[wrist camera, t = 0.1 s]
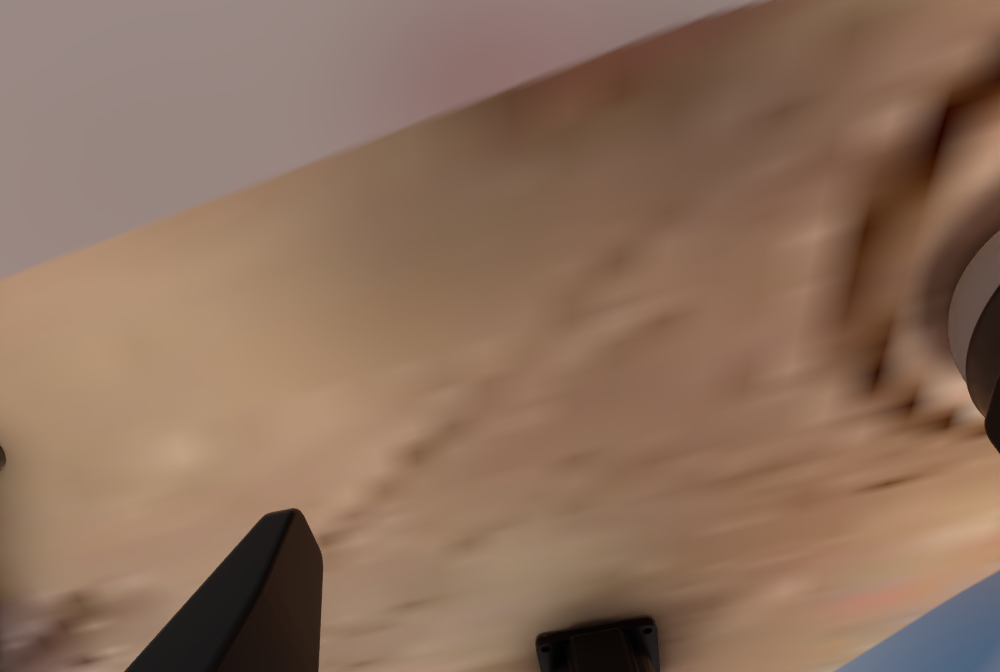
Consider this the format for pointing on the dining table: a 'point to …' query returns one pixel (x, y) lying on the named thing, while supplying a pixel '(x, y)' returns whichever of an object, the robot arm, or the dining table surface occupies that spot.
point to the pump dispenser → (978, 323)
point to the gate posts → (2, 459)
